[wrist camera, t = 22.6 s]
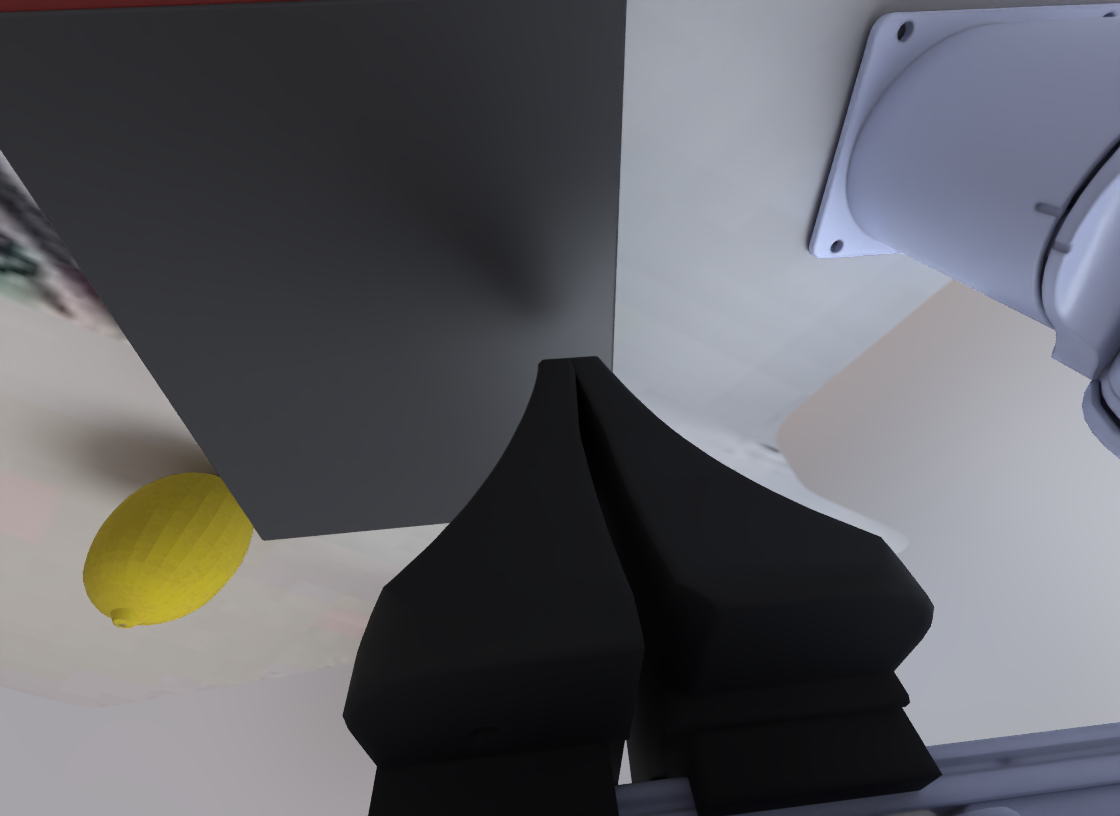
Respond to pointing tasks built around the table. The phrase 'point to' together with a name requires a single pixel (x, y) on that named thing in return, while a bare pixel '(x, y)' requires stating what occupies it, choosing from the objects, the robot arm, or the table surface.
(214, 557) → the lemon
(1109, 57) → the robot arm
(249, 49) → the dark grey box
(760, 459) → the table surface
